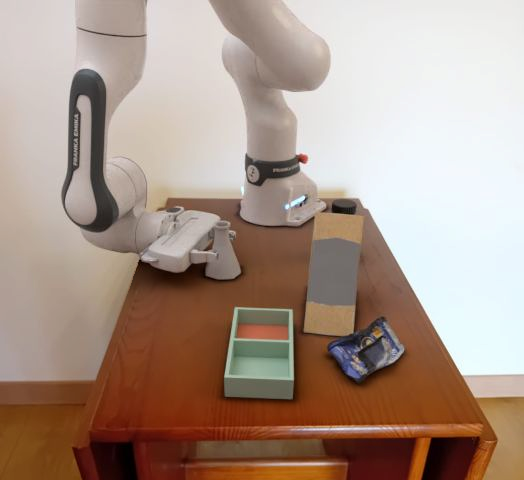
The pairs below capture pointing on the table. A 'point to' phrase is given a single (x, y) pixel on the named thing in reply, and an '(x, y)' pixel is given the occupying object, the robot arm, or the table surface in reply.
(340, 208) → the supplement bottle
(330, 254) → the sandwich container
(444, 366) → the table surface
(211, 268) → the flask
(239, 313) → the two-compartment tray
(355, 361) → the snack package
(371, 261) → the table surface
